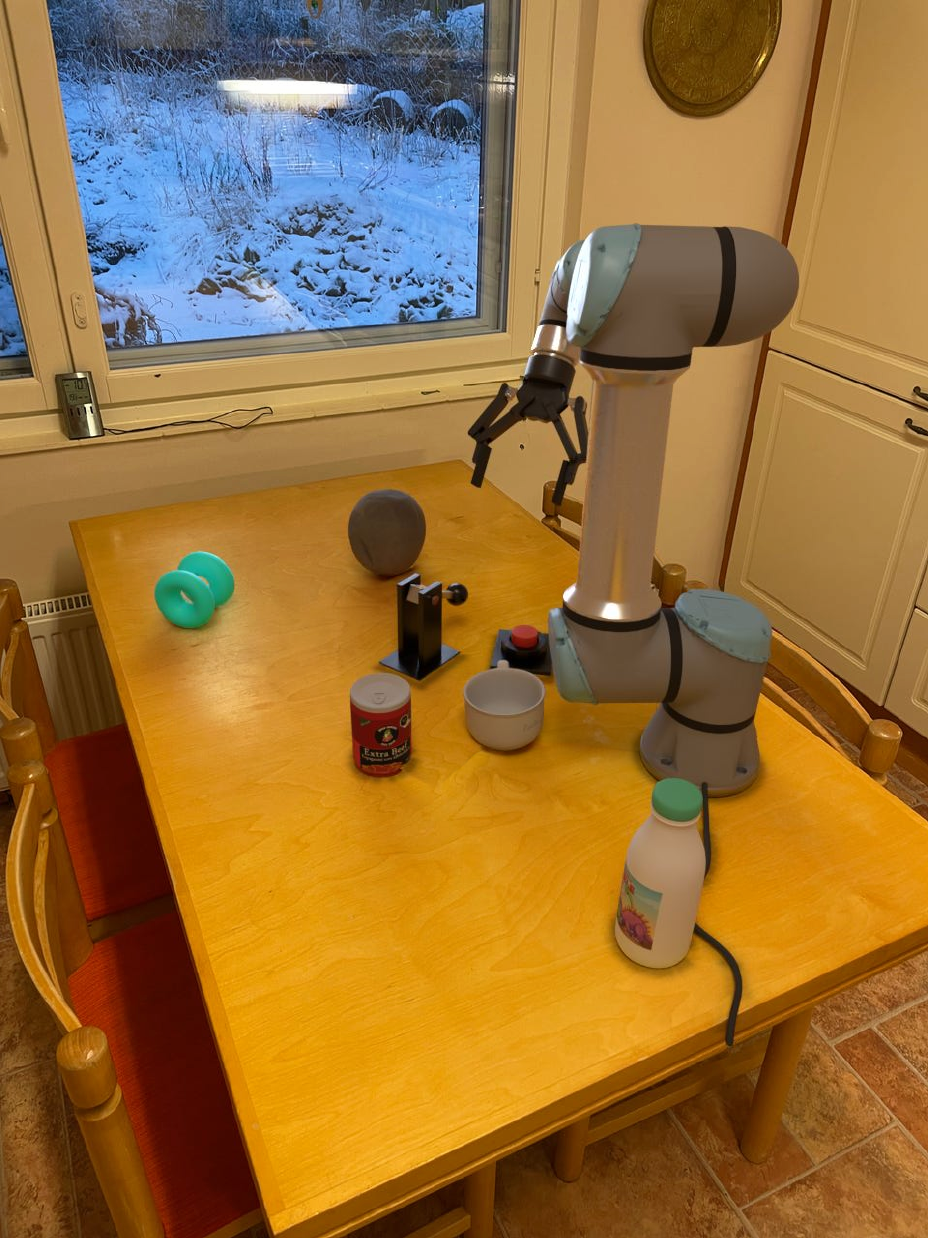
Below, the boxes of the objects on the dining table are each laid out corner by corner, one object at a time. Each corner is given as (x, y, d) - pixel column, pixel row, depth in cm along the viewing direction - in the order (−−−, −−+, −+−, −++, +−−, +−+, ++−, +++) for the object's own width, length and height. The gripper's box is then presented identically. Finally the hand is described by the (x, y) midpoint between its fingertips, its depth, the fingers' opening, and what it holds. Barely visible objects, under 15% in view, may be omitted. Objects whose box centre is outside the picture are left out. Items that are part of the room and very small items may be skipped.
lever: (450, 601, 143) (456, 580, 143) (469, 608, 142) (475, 586, 141) (401, 602, 132) (407, 578, 132) (420, 609, 130) (426, 586, 130)
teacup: (536, 767, 117) (540, 717, 113) (454, 755, 119) (455, 706, 115) (549, 706, 129) (553, 659, 125) (474, 696, 131) (476, 649, 127)
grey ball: (438, 580, 162) (438, 503, 154) (361, 593, 157) (358, 514, 149) (412, 548, 173) (411, 474, 165) (340, 559, 168) (336, 483, 161)
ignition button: (536, 649, 136) (537, 639, 135) (509, 647, 137) (510, 636, 136) (538, 636, 140) (539, 625, 139) (512, 633, 140) (513, 623, 139)
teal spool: (155, 626, 146) (146, 571, 141) (186, 597, 154) (178, 545, 149) (212, 635, 144) (204, 580, 139) (240, 605, 152) (234, 552, 147)
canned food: (358, 783, 114) (355, 712, 108) (348, 745, 121) (344, 676, 115) (417, 773, 116) (417, 703, 110) (404, 736, 122) (403, 668, 117)
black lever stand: (420, 641, 144) (419, 563, 137) (460, 657, 140) (462, 578, 133) (378, 668, 137) (376, 587, 130) (419, 686, 133) (419, 604, 126)
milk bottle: (679, 910, 97) (708, 765, 87) (697, 970, 91) (731, 820, 81) (608, 911, 97) (629, 765, 87) (621, 972, 90) (645, 821, 80)
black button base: (549, 681, 135) (551, 661, 133) (490, 675, 136) (490, 655, 134) (554, 643, 144) (555, 624, 142) (498, 637, 145) (499, 619, 143)
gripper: (635, 382, 137) (597, 517, 138) (488, 358, 147) (452, 484, 147) (625, 365, 131) (585, 506, 131) (472, 340, 140) (434, 472, 140)
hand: (514, 494), depth 139 cm, fingers open, 13 cm apart
